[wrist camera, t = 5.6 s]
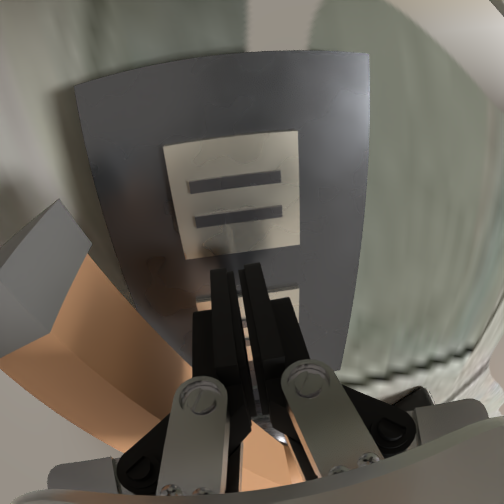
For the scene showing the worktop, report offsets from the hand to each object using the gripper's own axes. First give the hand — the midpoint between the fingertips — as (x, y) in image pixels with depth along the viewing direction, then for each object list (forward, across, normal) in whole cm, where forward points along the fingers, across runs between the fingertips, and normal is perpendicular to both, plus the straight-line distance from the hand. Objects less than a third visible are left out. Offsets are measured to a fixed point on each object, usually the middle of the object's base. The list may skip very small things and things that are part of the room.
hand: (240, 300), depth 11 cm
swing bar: (-1, +3, +5) cm, 6 cm away
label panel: (+3, 0, 0) cm, 3 cm away
